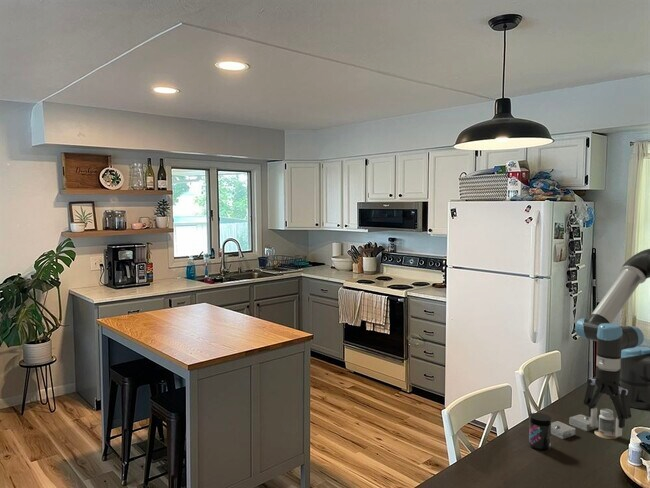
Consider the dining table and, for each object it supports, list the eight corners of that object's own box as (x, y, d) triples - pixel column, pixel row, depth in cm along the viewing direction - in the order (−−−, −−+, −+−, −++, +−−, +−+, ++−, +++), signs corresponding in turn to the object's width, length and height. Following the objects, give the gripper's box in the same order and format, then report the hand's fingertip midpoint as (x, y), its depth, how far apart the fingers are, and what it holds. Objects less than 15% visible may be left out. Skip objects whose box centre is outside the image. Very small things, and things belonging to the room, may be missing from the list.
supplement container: (528, 440, 171) (529, 411, 170) (550, 444, 168) (551, 414, 168) (528, 449, 164) (529, 418, 164) (550, 453, 162) (552, 422, 161)
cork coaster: (602, 429, 180) (602, 428, 180) (621, 436, 174) (621, 435, 174) (590, 433, 177) (590, 432, 177) (609, 441, 171) (609, 439, 171)
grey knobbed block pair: (580, 420, 188) (580, 413, 187) (598, 427, 181) (598, 420, 181) (545, 431, 178) (545, 423, 178) (562, 439, 172) (563, 431, 172)
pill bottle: (615, 437, 173) (616, 413, 172) (601, 435, 174) (602, 412, 173) (610, 431, 177) (611, 408, 177) (596, 430, 178) (597, 407, 178)
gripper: (573, 361, 181) (571, 421, 183) (632, 378, 163) (629, 445, 164) (586, 358, 185) (584, 417, 186) (645, 375, 166) (642, 440, 168)
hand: (605, 430), depth 175 cm, fingers open, 8 cm apart
